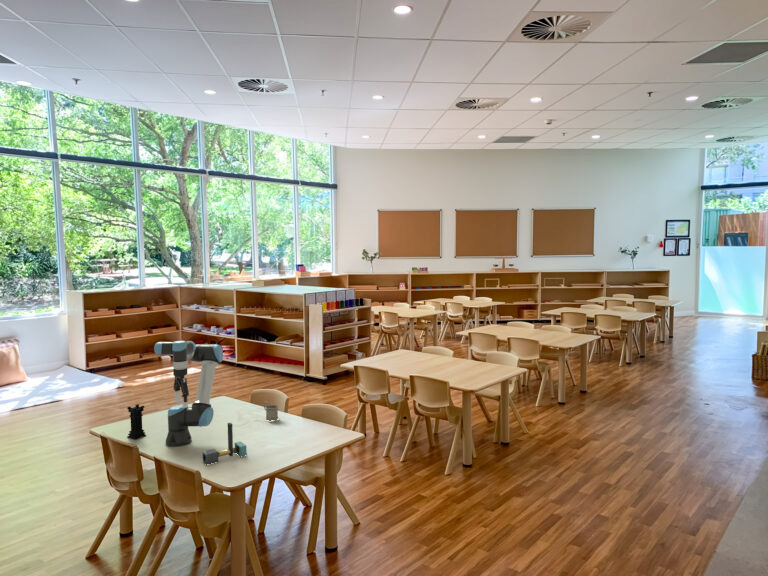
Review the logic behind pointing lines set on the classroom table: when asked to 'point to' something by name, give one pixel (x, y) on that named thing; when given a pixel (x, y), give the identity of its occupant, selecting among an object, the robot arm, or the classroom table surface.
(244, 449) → the teal socket block
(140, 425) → the chess piece
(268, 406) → the mug
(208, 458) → the graphite sleeve
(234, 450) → the dark grey post stand
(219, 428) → the classroom table surface
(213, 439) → the classroom table surface
